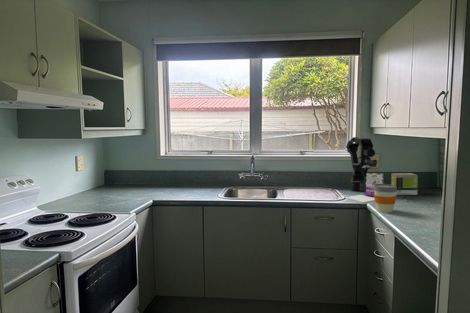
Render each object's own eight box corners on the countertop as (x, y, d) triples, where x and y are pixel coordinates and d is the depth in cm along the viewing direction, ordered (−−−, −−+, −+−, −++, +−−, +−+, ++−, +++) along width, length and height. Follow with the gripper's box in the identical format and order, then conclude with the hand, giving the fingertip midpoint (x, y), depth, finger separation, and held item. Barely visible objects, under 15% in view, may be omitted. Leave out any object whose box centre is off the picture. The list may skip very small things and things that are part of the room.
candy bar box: (382, 197, 234) (383, 173, 234) (382, 197, 229) (383, 173, 229) (365, 195, 239) (367, 172, 239) (365, 196, 234) (366, 172, 234)
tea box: (411, 192, 249) (412, 172, 247) (417, 195, 239) (418, 174, 237) (390, 192, 250) (391, 172, 249) (395, 194, 240) (396, 174, 239)
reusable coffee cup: (376, 207, 205) (377, 183, 204) (398, 210, 197) (399, 185, 196) (370, 211, 195) (370, 186, 194) (393, 214, 188) (394, 188, 186)
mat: (360, 195, 239) (360, 194, 239) (379, 199, 225) (379, 199, 225) (344, 198, 231) (344, 197, 231) (363, 202, 217) (363, 201, 217)
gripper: (364, 157, 229) (364, 179, 231) (383, 155, 238) (382, 177, 239) (352, 155, 239) (351, 177, 241) (370, 154, 248) (369, 175, 249)
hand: (364, 176), depth 242 cm, fingers closed
